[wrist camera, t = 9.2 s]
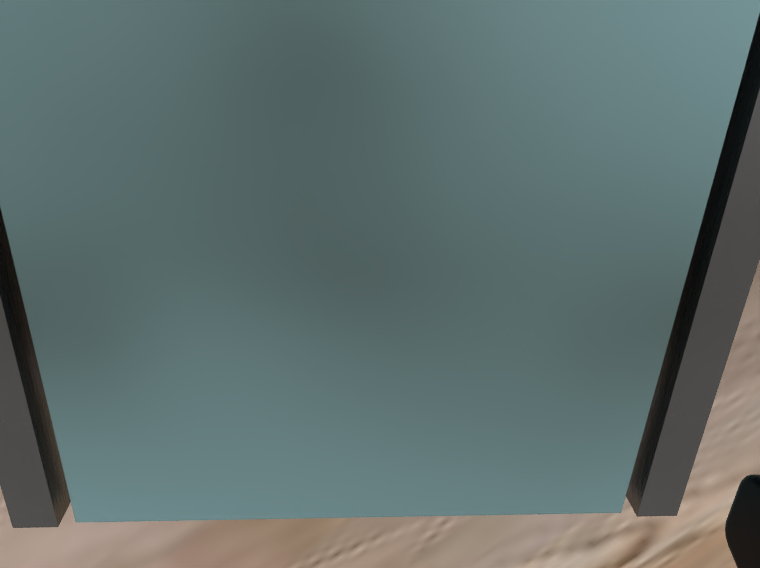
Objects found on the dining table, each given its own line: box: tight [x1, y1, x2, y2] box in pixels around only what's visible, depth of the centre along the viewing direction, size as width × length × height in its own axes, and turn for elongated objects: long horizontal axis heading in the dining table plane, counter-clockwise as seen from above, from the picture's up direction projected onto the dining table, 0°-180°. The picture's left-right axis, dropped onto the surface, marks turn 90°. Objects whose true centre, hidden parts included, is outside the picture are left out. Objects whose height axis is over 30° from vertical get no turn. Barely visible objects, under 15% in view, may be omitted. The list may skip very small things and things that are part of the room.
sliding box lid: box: [0, 0, 760, 522], centre depth 12 cm, size 13×18×2 cm
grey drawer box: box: [0, 13, 760, 528], centre depth 15 cm, size 16×17×7 cm
